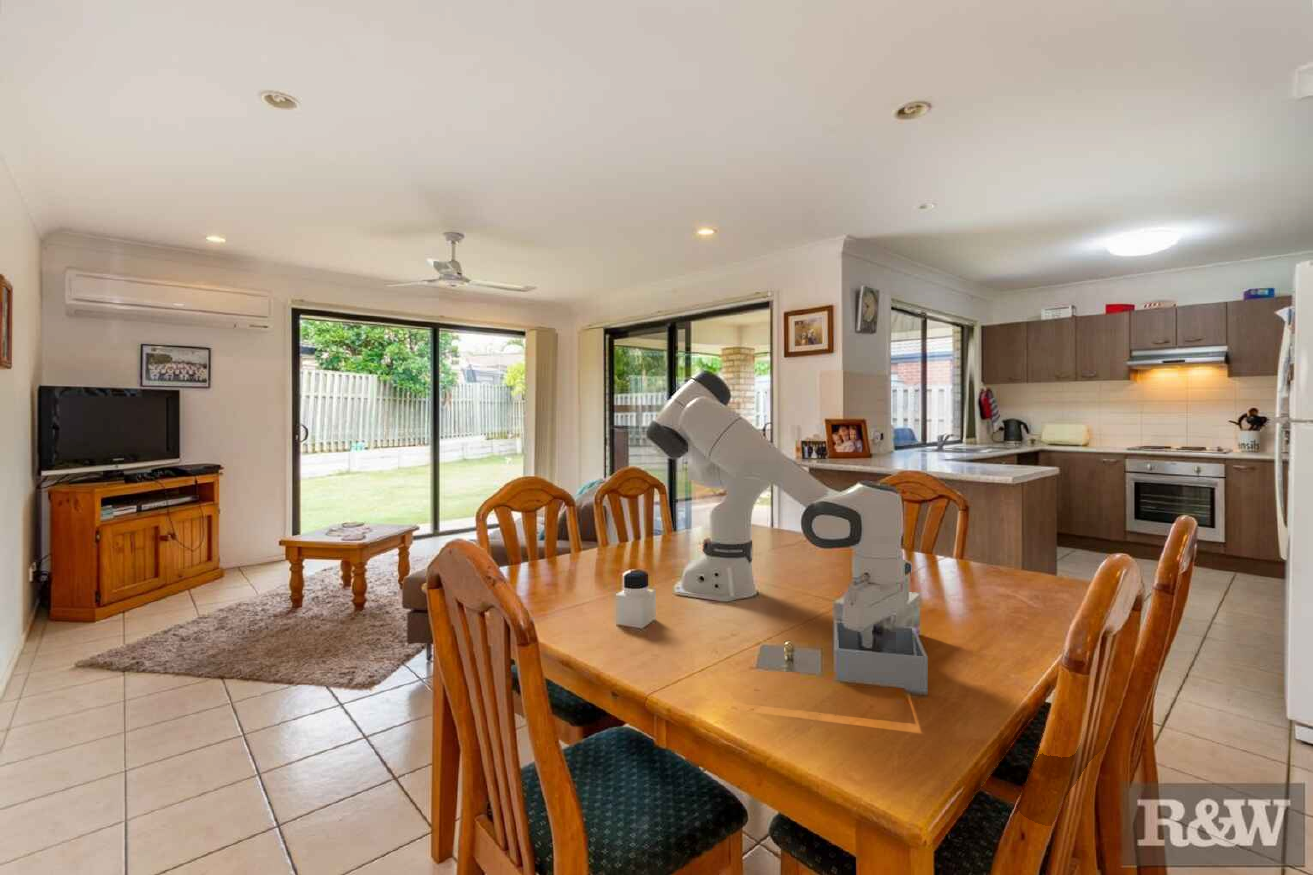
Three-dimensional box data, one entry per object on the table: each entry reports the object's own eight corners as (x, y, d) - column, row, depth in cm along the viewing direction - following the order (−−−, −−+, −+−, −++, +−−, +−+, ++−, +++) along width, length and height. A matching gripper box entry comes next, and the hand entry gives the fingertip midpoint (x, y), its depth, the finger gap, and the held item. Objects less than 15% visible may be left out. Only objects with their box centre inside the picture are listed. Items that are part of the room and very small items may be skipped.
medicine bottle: (655, 619, 143) (655, 569, 143) (642, 629, 137) (642, 577, 136) (629, 615, 146) (628, 566, 146) (615, 624, 140) (614, 573, 139)
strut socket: (883, 667, 110) (883, 624, 109) (857, 659, 113) (857, 617, 113) (895, 659, 113) (895, 617, 113) (869, 651, 117) (870, 611, 116)
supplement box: (861, 622, 141) (862, 582, 140) (920, 635, 132) (921, 593, 132) (831, 644, 128) (832, 600, 127) (895, 660, 119) (896, 613, 119)
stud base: (755, 673, 113) (755, 650, 113) (761, 649, 125) (761, 628, 125) (821, 680, 110) (821, 656, 110) (821, 654, 122) (821, 633, 121)
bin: (835, 685, 108) (835, 649, 108) (833, 653, 122) (833, 620, 122) (927, 695, 104) (927, 658, 104) (914, 660, 118) (914, 627, 118)
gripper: (867, 583, 103) (866, 663, 103) (916, 562, 117) (915, 632, 118) (833, 576, 107) (833, 652, 108) (884, 556, 122) (884, 624, 122)
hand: (876, 641), depth 113 cm, fingers closed on strut socket, 5 cm apart
